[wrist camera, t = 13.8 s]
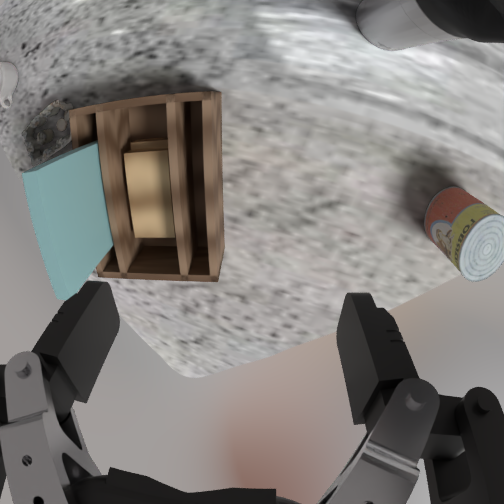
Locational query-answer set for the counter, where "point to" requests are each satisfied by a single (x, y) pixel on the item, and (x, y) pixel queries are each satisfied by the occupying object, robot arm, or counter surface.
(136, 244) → the rack
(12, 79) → the teacup
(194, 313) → the counter surface
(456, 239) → the canned food
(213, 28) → the counter surface
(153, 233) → the oak offcut upper
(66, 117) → the egg carton
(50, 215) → the teal board
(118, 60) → the counter surface
